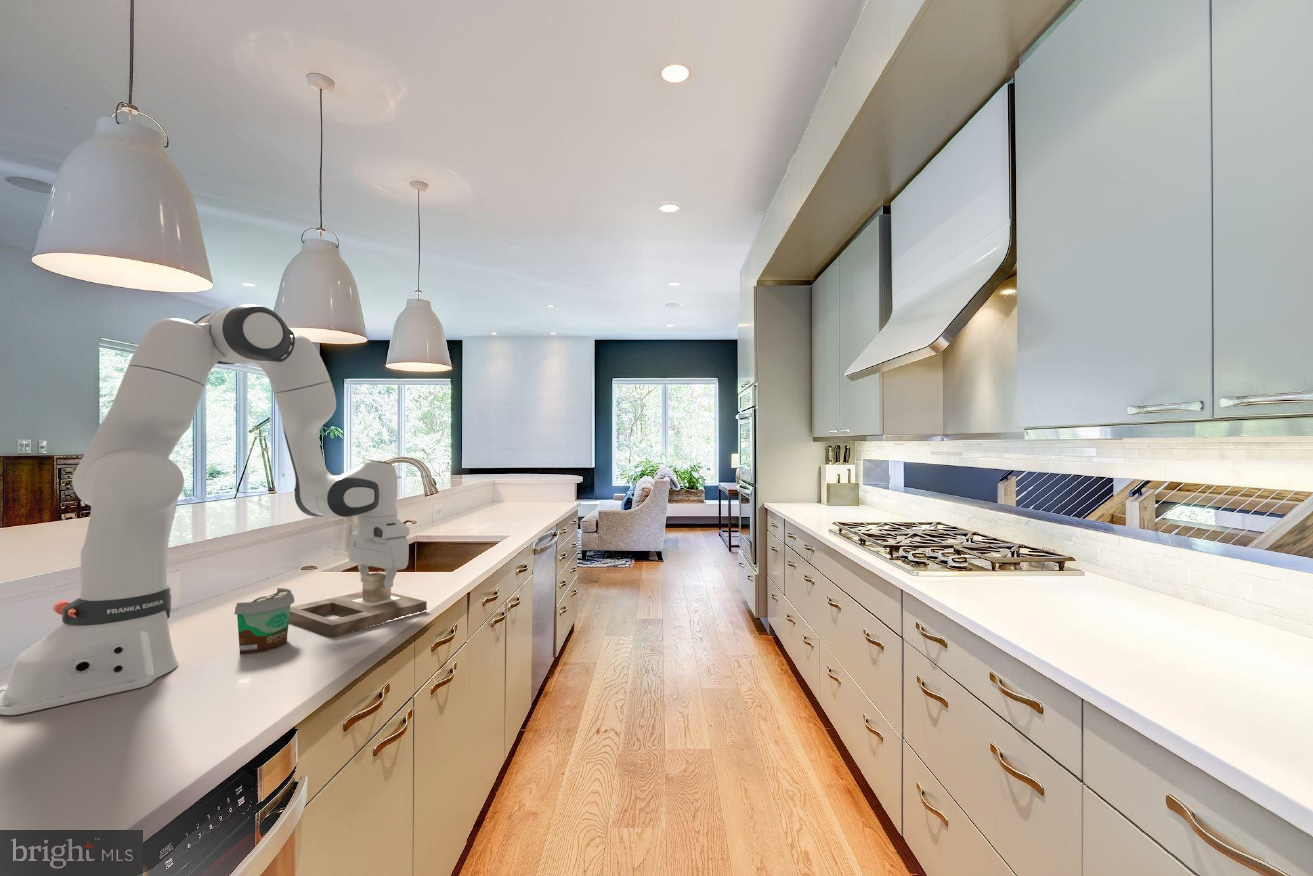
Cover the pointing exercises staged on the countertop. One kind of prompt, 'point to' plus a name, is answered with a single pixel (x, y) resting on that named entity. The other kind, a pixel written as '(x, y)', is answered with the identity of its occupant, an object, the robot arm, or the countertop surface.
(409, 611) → the pocket board
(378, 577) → the ash block
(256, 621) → the food container
